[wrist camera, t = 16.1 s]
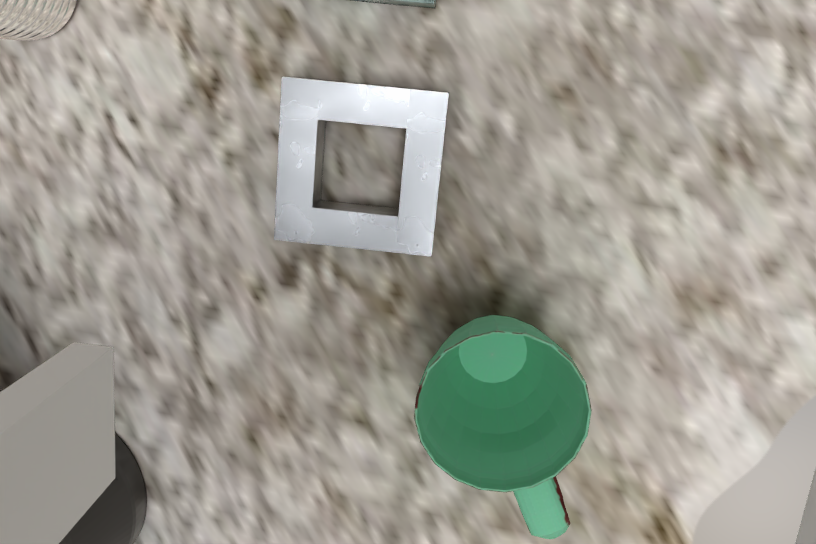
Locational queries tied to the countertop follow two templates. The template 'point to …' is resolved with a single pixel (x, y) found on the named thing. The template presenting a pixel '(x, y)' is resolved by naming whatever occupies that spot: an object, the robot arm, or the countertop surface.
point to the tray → (405, 2)
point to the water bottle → (33, 18)
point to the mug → (505, 415)
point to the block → (304, 154)
